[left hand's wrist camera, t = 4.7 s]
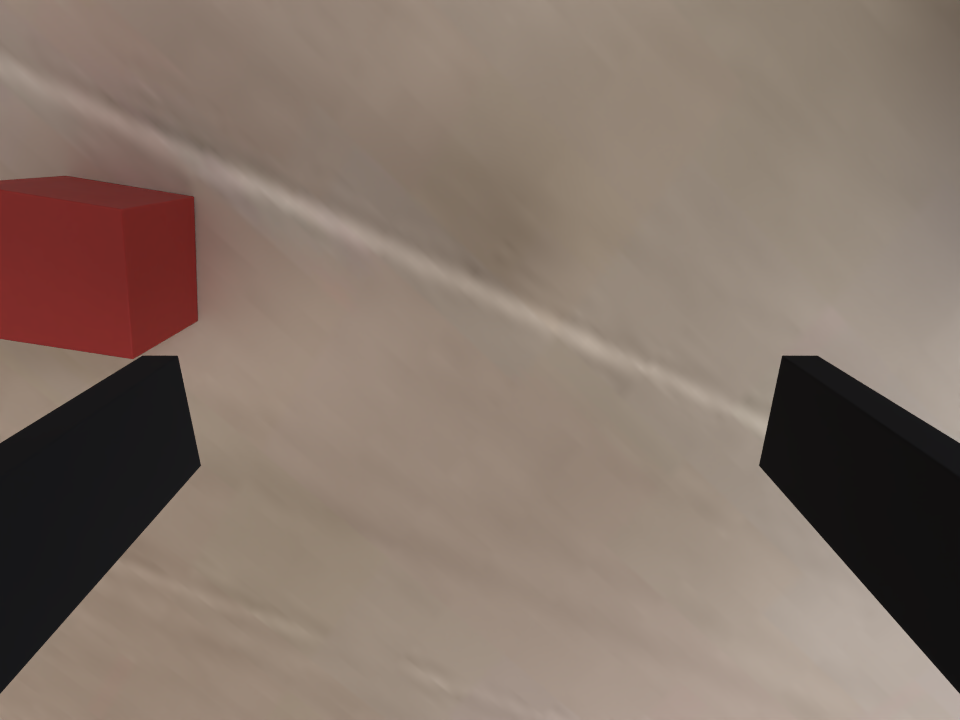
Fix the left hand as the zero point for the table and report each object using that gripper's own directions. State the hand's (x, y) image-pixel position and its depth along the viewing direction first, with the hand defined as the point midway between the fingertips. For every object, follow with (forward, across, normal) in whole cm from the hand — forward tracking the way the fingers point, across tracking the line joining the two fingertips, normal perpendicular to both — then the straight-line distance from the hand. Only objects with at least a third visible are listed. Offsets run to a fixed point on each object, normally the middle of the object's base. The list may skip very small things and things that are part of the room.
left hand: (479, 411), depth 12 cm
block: (+11, -14, +2) cm, 18 cm away
